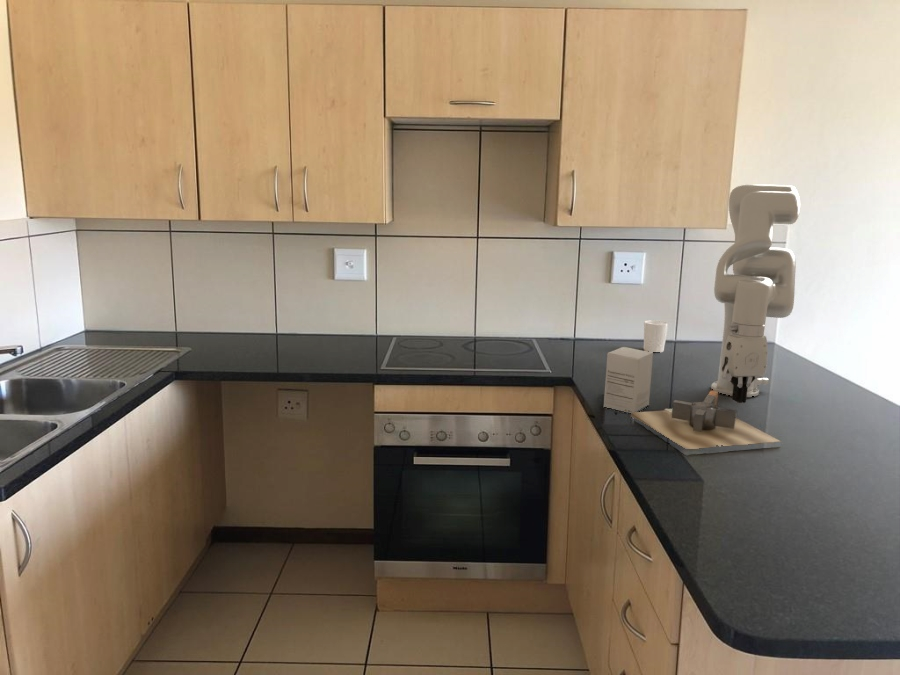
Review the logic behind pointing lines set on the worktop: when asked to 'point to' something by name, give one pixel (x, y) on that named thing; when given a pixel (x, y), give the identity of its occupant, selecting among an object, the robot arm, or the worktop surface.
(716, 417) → the capstan
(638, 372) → the supplement box
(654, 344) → the white cup
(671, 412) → the level window
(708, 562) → the worktop surface
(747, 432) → the stand plate
